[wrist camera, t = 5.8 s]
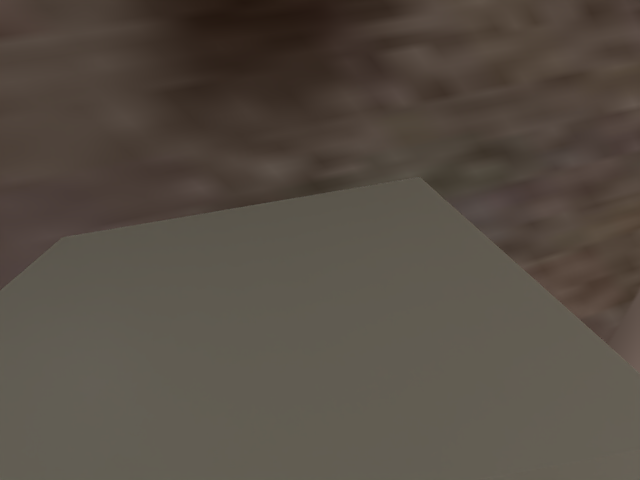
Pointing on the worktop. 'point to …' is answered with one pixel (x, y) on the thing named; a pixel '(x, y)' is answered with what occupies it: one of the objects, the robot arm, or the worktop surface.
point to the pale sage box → (305, 353)
